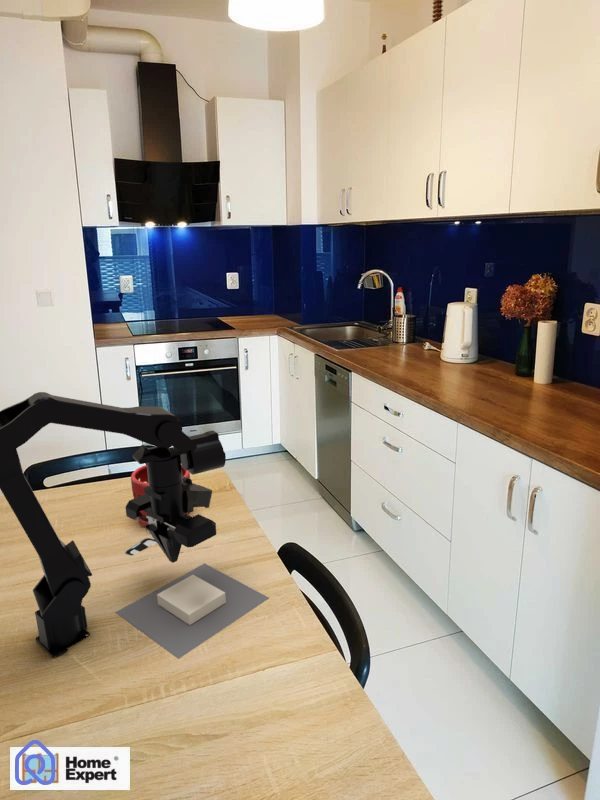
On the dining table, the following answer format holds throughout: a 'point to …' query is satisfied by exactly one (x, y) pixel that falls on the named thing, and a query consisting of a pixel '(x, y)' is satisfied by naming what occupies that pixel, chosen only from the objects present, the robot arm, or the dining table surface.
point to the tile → (191, 599)
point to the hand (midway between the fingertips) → (173, 561)
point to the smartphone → (140, 546)
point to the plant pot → (140, 485)
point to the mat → (187, 637)
